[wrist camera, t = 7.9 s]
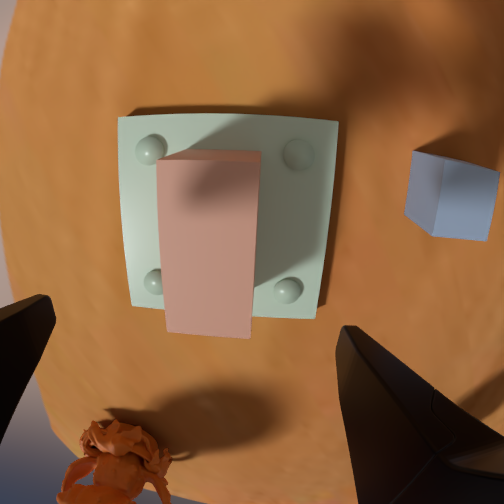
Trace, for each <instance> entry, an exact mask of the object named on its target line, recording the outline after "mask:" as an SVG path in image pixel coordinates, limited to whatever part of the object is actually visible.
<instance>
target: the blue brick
mask: <svg viewBox="0 0 504 504" xmlns="http://www.w3.org/2000/svg"><path fill="white" fill-rule="evenodd" d="M499 176H500V172H498V171H495V170H492V169H489V168H486V167H482V166H479V165H476V164H473V163H469V162H466V161H462V160H458V159H453V158H448V157H444V156H439V155H434V154H429V153H424V152H418V151H413V153H412V162H411V170H410V178H409V185H408V192H407V199H406V205H405V211H404V215H405V216H407V217H408V218H409V219H411V220H412V221H413V222H415V223H416V224H417V225H419V226H420V227H421V228H422V229H424V230H425V231H426V232H427V233H429V234H430V235H431V236H436V237H447V238H458V239H468V240H478V241H487V237H488V233H489V229H490V224H491V220H492V215H493V210H494V205H495V200H496V195H497V189H498V183H499Z"/></svg>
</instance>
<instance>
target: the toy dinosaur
mask: <svg viewBox="0 0 504 504" xmlns="http://www.w3.org/2000/svg"><path fill="white" fill-rule="evenodd" d="M80 447H81V450H82V451H83V452H84V455H85V456H86V457H83V458H80V459H78V460H76V461H74V462H73V463H71V465H70V466H69V467H68V469H67V471H66V473H65V479H64V480H63V481H62V483H63V484H62V487H61V491H62V492H60V493H58V494H57V502H58V503H59V504H136V502H134V501H132V500H133V499H134V498H136V497H137V496H138V495H139V494H140V493H141V492H142V490H143V486H144V484H145V483H146V482H150V483H152V484H153V486H154V487H155V489H156V491H157V493H158V495H159V497H160V498H161V501H162V502H163V504H171V503H170V496H171V495H170V493H169V491H168V490H167V488H166V485H168V482H167V480H166V479H165V478H164V476H165V475H166V473H167V470H168V468H169V465H170V464H171V463H172V457H171V456H170V454H169V452H168V449H169V448H165V449H164V450H163V453H164V455H163V457H161V458H159V449H158V444H157V442H156V440H155V439H154V438H153V437H152V436H151V435H150V434H148V433H147V432H145V431H144V430H142V429H141V427H140V426H133V425H130V424H126V423H119V422H118V421H117V419H116V420H114V421H113V422H112V424H110V425H109V426H108V427H106V429H100V427H99V425H98V423H97V422H95V421H92V422H91V426H90V427H89V429H88V430H84V433H83V434H82V436H81V438H80ZM170 457H171V458H170ZM168 460H169V461H168ZM94 469H95V472H94V473H93V475H94V477H93V483H94V485H88V486H84V485H81V484H75V482H76V481H77V480H79V479H82V478H83V477H85V476H87V475H88V474H89V473H90V472H91V471H93V470H94Z"/></svg>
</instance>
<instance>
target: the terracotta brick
mask: <svg viewBox="0 0 504 504" xmlns="http://www.w3.org/2000/svg"><path fill="white" fill-rule="evenodd" d="M260 170H261V151H247V150H217V149H185V150H182V151H179V152H177V153H174V154H171V155H168V156H166V157H163V158H160V159H158V160H156V177H157V210H158V232H159V248H160V263H161V275H162V287H163V298H164V308H165V317H166V326H167V332H175V333H184V334H195V335H205V336H217V337H230V338H245V339H250V337H251V324H252V310H253V297H254V282H255V264H256V245H257V227H258V208H259V190H260Z"/></svg>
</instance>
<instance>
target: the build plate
mask: <svg viewBox="0 0 504 504" xmlns="http://www.w3.org/2000/svg"><path fill="white" fill-rule="evenodd" d="M338 125H339V121H331V120H322V119H312V118H301V117H289V116H275V115H256V114H220V113H197V114H161V115H143V116H129V117H118V166H119V188H120V205H121V218H122V230H123V240H124V250H125V259H126V267H127V275H128V282H129V289H130V296H131V303H132V306H138V307H147V308H156V309H165V308H164V298H163V287H162V275H161V263H160V248H159V232H158V210H157V177H156V160H158V159H160V158H163V157H166V156H168V155H171V154H174V153H177V152H179V151H182V150H185V149H217V150H247V151H261V170H260V190H259V208H258V227H257V245H256V264H255V282H254V297H253V310H252V316H258V317H277V318H300V319H315V316H316V310H317V304H318V297H319V291H320V285H321V278H322V271H323V265H324V258H325V250H326V243H327V235H328V227H329V219H330V211H331V202H332V193H333V183H334V173H335V162H336V151H337V138H338Z"/></svg>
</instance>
